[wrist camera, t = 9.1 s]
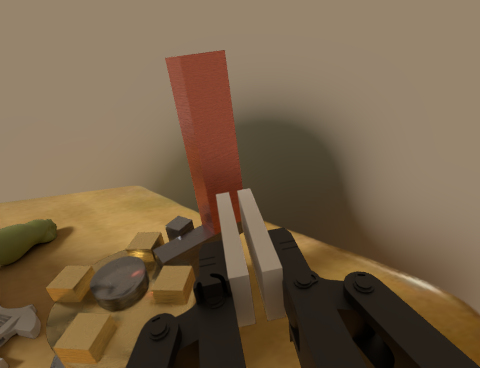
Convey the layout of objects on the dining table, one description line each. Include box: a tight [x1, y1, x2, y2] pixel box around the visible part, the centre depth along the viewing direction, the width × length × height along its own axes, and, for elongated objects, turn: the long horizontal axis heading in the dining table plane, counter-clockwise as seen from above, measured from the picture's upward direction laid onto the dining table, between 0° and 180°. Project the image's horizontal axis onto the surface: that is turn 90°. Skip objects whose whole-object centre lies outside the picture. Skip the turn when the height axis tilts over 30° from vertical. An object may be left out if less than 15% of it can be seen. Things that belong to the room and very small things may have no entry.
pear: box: [0, 219, 57, 266], centre depth 43 cm, size 6×5×10 cm
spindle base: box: [50, 216, 199, 368], centre depth 25 cm, size 17×17×10 cm
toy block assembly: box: [46, 50, 243, 368], centre depth 23 cm, size 19×12×24 cm, turn 128°
